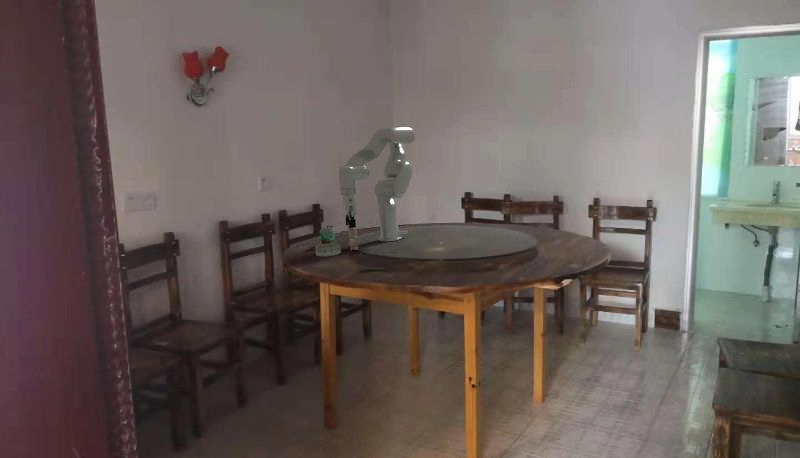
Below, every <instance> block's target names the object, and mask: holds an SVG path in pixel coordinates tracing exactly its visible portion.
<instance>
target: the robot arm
mask: <svg viewBox="0 0 800 458" xmlns="http://www.w3.org/2000/svg"><path fill="white" fill-rule="evenodd" d="M415 139H416V133H415V130H414V129H413V128H411V127H407V126H406V127H404V126H403V127H402V126H401V127H399V126H398V127H397V126H391V127H389V126H388V127H381V128H377V129H376V130H375V132H374V133H373V134H372V136H371V137H370V138H369V140H368V142H367V143H366V145H365V146H364V147H363V148H361V149H360V150H359V151H356V153H355V154H353V155H351V157H350V158H349V159H348V160H347V162H346V163H345V165H344V166H341V167H339V168H338V180H339V182H338V183H339V192H340V196H342V200H343V201H342V202H343V212H344V214H345V215H344V216H345V226H348V222H349V227H350V228H354V227H356V228H357V223H356V222H357V221H356V216H355V215H357V214H358V212H357V203H356V196H355V195H356V194H357V192H356V191H357V189H356V181H362V180H366V179H367V178H368V177H369V175H370V169H369V167H368V166H366V165H365V164H367V163H369V162H372V161H374V160H377V158H379V157H380V155H382V152H383V151H384V149H385V148H386V147H387V145H388V146H389V156H388V158H387V161H386V163H385V166H384V169H383V176H384V178H385V179H381V180H378V181H377V182H376V183H375V184H374V188H373V189H374V193H375V194H374V195H375V198H376V200H377V201H376V202H377V207H378V217H379V218H378V219H379V228H380V236H379V237H378V238H377V239H378V241H379V242H394V241H395V242H396V241H400V240H402V239H403V235H408V234H409V231H408V229H407V230H400V229H399V220H398V209H397V208H398V207H397V203H396V201H395V199H400V198H403V197H404V196H405V194H406V192H407V190H408V187H409V185H410V182H411V179H412V177H413V176H412V175H413V167H412V166H413V165H412V164H411V163H410V162H408V161H405V160H406V151H405V149H404V147H403V145H409V144H410V145H411V144H412V143H414V141H415Z"/></svg>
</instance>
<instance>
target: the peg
mask: <svg viewBox="0 0 800 458" xmlns="http://www.w3.org/2000/svg"><path fill="white" fill-rule="evenodd" d="M347 231H348V239H349V247H350V248H349V249H350V252H353V251H352V248H354V247H358V248H359V242H358V241H359V240H358V232H357V226H356V227H354V228H350V227H349V222H348V225H347Z"/></svg>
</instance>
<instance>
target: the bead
mask: <svg viewBox="0 0 800 458" xmlns="http://www.w3.org/2000/svg"><path fill="white" fill-rule="evenodd" d="M341 247H342V246H341V243H337V242H335V243H328V244H322V243H321V244H318V245H316V246H315V247H314V248H315V255H316V256H317V257H332V256H336V255H340V254H341V253H342V248H341Z"/></svg>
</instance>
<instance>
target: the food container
mask: <svg viewBox="0 0 800 458" xmlns="http://www.w3.org/2000/svg"><path fill="white" fill-rule="evenodd" d="M335 232H336V228H335V226H334V225H329V224H328V225H326V227H325V228H321V229H319V234H320V240H321V245H322V244H328V243H336V242H335V241H336V240H335Z"/></svg>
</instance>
